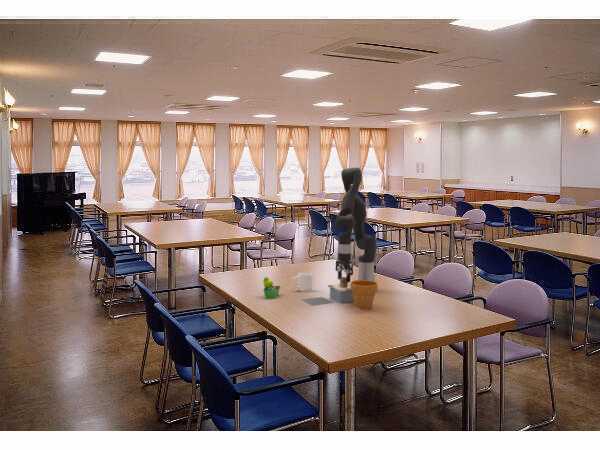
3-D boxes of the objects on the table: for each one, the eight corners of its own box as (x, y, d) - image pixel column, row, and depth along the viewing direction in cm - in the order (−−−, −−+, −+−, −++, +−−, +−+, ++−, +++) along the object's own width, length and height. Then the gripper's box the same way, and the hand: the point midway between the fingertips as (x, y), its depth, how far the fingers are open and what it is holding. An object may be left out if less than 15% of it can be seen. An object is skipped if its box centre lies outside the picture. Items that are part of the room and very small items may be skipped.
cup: (313, 291, 314) (313, 275, 313) (293, 292, 312) (293, 275, 310) (310, 288, 322) (310, 272, 321) (291, 289, 320) (291, 272, 318)
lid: (347, 284, 303) (347, 274, 302) (360, 289, 292) (360, 278, 291) (327, 286, 297) (327, 276, 296) (340, 291, 286) (340, 281, 285)
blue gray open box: (346, 297, 303) (346, 285, 302) (357, 301, 293) (357, 289, 292) (329, 299, 297) (330, 286, 297) (340, 303, 288) (340, 291, 287)
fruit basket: (276, 299, 295) (276, 279, 294) (260, 298, 297) (260, 278, 296) (280, 294, 306) (280, 275, 305) (265, 293, 308) (266, 274, 307)
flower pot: (373, 311, 273) (374, 286, 272) (347, 308, 278) (347, 284, 276) (379, 304, 286) (380, 281, 285) (353, 302, 291) (354, 279, 290)
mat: (322, 297, 300) (322, 296, 300) (335, 303, 288) (335, 302, 288) (300, 300, 294) (300, 299, 294) (312, 306, 281) (312, 305, 281)
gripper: (357, 253, 288) (356, 282, 289) (343, 249, 300) (342, 277, 302) (345, 254, 284) (345, 284, 286) (332, 250, 297) (331, 278, 298)
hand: (343, 280), depth 294 cm, fingers open, 8 cm apart
